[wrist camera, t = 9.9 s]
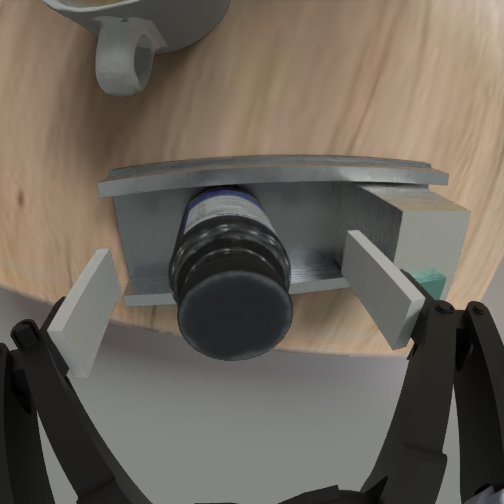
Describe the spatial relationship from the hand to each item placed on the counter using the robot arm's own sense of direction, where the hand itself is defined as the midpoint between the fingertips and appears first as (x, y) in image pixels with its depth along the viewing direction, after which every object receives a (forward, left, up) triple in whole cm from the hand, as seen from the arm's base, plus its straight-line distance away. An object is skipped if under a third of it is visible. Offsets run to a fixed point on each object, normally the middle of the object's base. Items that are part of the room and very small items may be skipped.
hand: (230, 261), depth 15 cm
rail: (0, +5, -7) cm, 9 cm away
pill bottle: (0, 0, -6) cm, 7 cm away
